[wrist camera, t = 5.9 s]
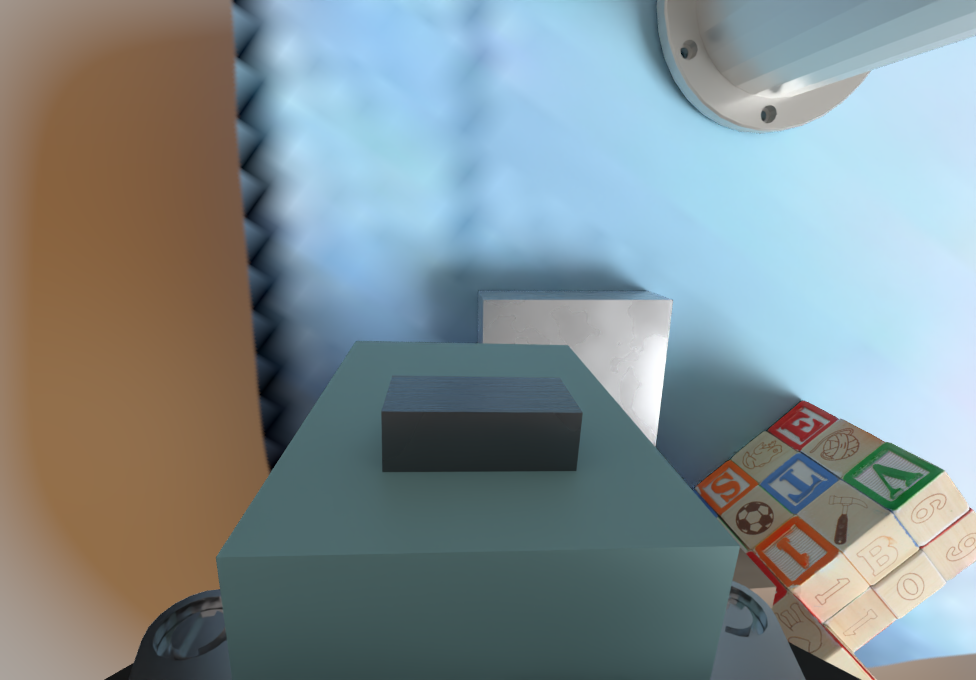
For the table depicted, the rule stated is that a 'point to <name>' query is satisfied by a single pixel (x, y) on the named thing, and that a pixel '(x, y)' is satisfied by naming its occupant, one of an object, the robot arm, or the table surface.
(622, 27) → the table surface
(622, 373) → the wooden bookend
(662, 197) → the table surface
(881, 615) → the stack of blocks
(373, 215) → the table surface
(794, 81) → the robot arm
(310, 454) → the teal cabinet
